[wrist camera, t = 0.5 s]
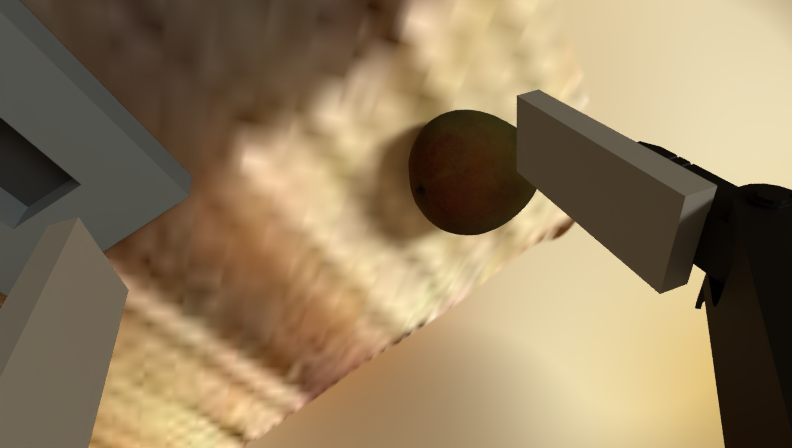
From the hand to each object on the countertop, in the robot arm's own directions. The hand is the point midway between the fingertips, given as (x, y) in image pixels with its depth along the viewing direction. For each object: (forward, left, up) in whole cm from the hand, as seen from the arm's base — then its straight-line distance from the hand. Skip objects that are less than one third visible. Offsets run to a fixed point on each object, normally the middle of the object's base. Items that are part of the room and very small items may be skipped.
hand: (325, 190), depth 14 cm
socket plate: (-2, -20, -26) cm, 33 cm away
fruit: (+18, +9, -26) cm, 33 cm away
